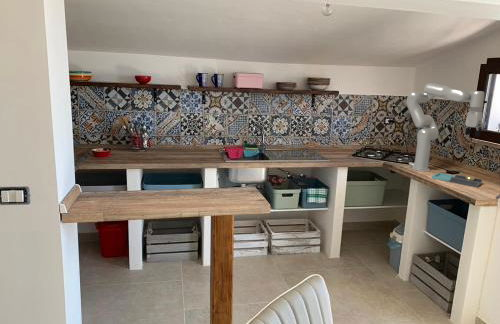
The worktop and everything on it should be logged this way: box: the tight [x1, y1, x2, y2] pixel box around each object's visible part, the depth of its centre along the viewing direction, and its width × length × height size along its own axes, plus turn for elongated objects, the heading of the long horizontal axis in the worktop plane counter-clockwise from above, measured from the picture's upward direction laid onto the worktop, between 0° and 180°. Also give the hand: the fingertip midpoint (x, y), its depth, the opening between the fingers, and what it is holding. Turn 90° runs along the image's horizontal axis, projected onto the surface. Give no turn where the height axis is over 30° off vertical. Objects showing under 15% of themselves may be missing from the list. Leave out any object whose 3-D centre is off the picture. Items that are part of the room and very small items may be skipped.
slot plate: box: [449, 174, 483, 188], centre depth 254 cm, size 16×14×3 cm
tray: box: [431, 172, 455, 183], centre depth 263 cm, size 12×14×2 cm
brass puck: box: [465, 175, 476, 181], centre depth 252 cm, size 5×5×2 cm
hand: (472, 135), depth 255 cm, fingers open, 9 cm apart
